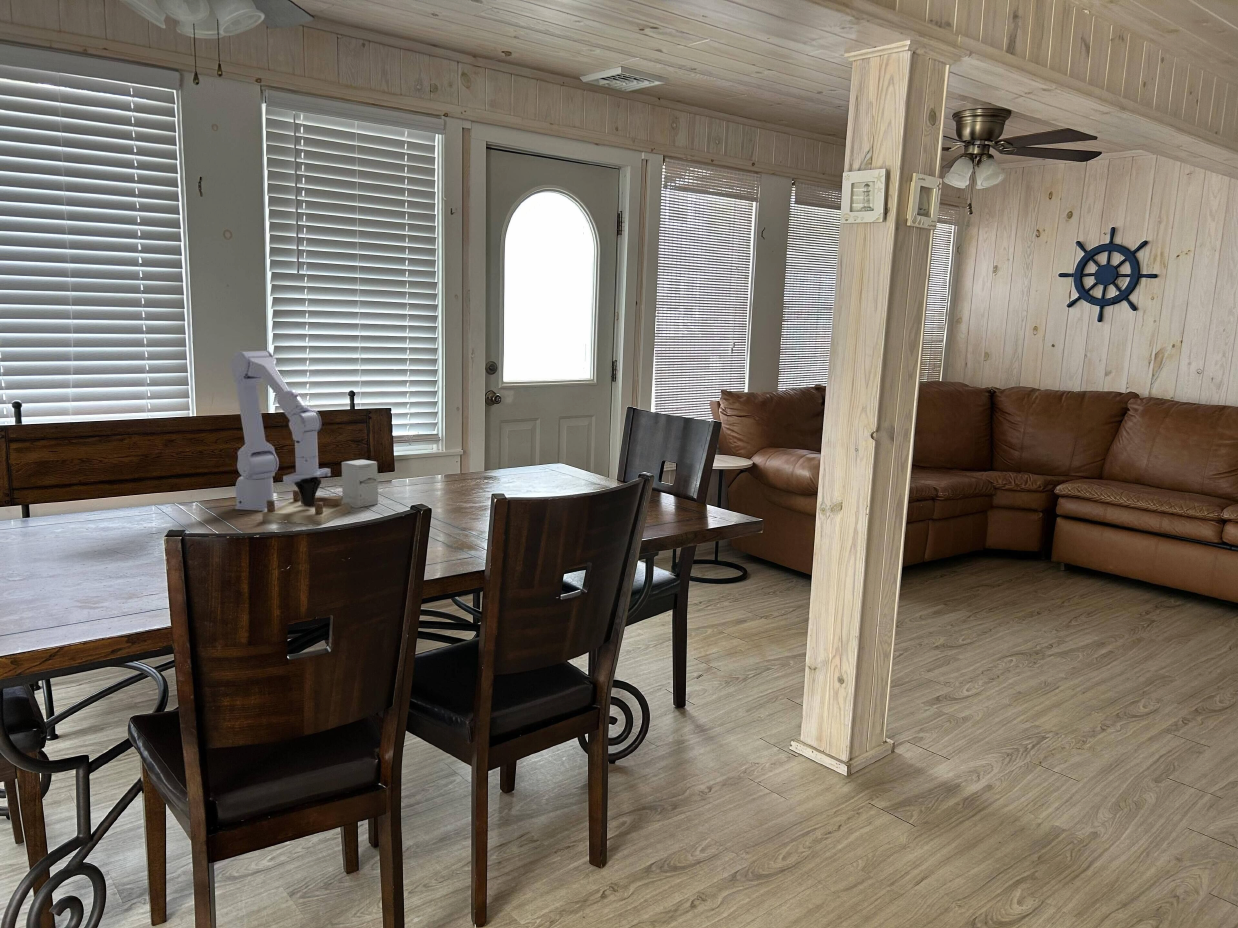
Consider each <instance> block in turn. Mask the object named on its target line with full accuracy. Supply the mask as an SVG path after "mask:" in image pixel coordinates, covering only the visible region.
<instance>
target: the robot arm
mask: <svg viewBox="0 0 1238 928" xmlns="http://www.w3.org/2000/svg"><path fill="white" fill-rule="evenodd" d="M230 365H231V372H232V376H233V377H232V378H233V382H234V383H235V388H236V394H237V399H238V400H237V401H238V407H239V413H240V419H241V426H242V430H243V438H244V445H243V446H242V447H240V449H239V450H238V451H237V463H236V464H237V466H236V467H237V471H238V472H239V474H240V475H241V476H240V477H238V478H237V480H236V483H235V499H236V500H235V501H236V507H234V509H235V510H242V511H243V510H244V511H245V510H247V511H261V512H263V511H266V510H267V500H275V499H274V479H273V477H274V476H276V475H275V474H276V472H277V471H278V469H279V466H280V465H279V464H280V463H279V462H280V461H279V458H278V456H277V453H276V452H275V451H276V450H275V447H274V446H273V445H272V444H271V443H269V442H267V441H266V435H265V430H264V429H265V428H264V423H263V418H262V416H263V415H262V410H261V405H260V398H259V391H258V385H259V383H260V382H261V381H264V382H265V383H266V385H267V386H269V388H270V389H271V390H272V392H274V394H275V395H276V396H277V401H276V403H277V404H278V406H279V407H280V409H281V410H282V412H283V414H285V416H286V417H287V419H289V422H288V427H289V429H290V431H291V434H292V439H293V440H294V451H295V452H294V454H295V455H294V457H295V458H294V459H295V472H293V473H290V474H287V475H283V476H282V480H283V481H282V483H283V484H285V485H291V484H293V483H294V485H295V487H296V489H297V490H299V492H300V494H301V497H302V500H303V503H304V506H308V507H310V506H313V504H314V499H315V496H317V492H318V490H319V488H320V485H321V484H322V479H320V478H322V477H330V476H332V474H331V470H332V469H331V468H326V467H325V468H319V456H318V455H319V451H318V449H319V448H318V445H319V444H318V432H319V431H320V430H321V428H322V418H321V415H320V413H319V412H318V411H317V410H314V409H312V408H310V407H309V406H307V404H305V402H304V400H303V399H302V398H301V396H300V395H299V393H298V391H296V390H294V389H293V390H292V389H290V388H289V387H288V385H287V384H286V382H285V380H284V379H283V377H282V375H281V374H280V372H279V371H278V368H277V359H276V357H274V355H273V353H272V352H271V351H270V350H266V349H265V350H260V351H259V350H257V351H256V350H255V351H253V350H252V351H236V352H235V353H234V355H233V356H232V358H231V360H230ZM253 453H254V454H253ZM278 505H281V503H277V502H275V507H276V506H278Z"/></svg>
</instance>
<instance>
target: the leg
mask: <svg viewBox="0 0 1238 928" xmlns="http://www.w3.org/2000/svg"><path fill="white" fill-rule="evenodd" d="M300 495H301V494H300ZM316 502H322V503H323V505H329V506H339V505H341V504H342V502H341V497H327V496H325V495H323V496H318V495H315V499H314V504H313V505H315V503H316ZM301 504H304V503H303V500H302V497H301Z"/></svg>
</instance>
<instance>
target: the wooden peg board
mask: <svg viewBox="0 0 1238 928" xmlns="http://www.w3.org/2000/svg"><path fill="white" fill-rule="evenodd" d="M326 497H341V502H342V504H341V505H339V506H329V505H323V503H322V502H316V503H315V505H313V506H310V507H308V506H304V504H301V495H300V492H299V490H298V489H293V490H292V499H290V500H288V501H285V502H283V503H280V505H278V506H276V507H275V503H276V502H275V501H276V500H275V499H274V500H267V510H266V511H261V514H262V522H269V521H287V522H296V523H295V524H300V523H303V524H304V525H316V526H317V525H318V526H319V525H320V526H322V525H321V524H323V525H325V524H327V523H329V522H331V521H333V520H335V519H338V518H339V517H341V516H343V515H345V514H347V513H350V511H351V510H350V509H351V508H350V507H351V506H350V503H345V502H343V495H331V494H330V495H327V496H326ZM303 524H302V525H303Z"/></svg>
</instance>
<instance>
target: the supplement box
mask: <svg viewBox="0 0 1238 928" xmlns="http://www.w3.org/2000/svg"><path fill="white" fill-rule="evenodd" d="M378 475H379V474H378V462H377V461H373V460H367V459H356V460H348V461H342V462H341V483H342V485H341V487H342V490H341V491H342V496H343V502H345V503H350V507H352V508H356V509H359V508H362V507H368V506H375V505H378V504H379V488H378V487H379V486H378V483H379V482H378V480H379V479H378V478H379V477H378Z"/></svg>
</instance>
